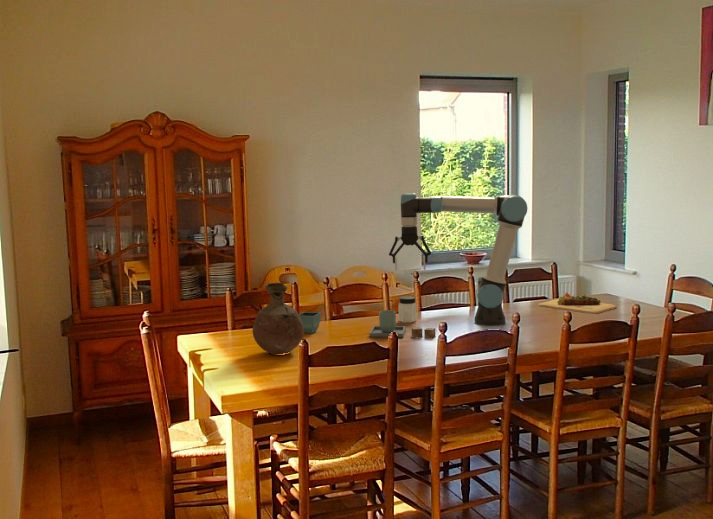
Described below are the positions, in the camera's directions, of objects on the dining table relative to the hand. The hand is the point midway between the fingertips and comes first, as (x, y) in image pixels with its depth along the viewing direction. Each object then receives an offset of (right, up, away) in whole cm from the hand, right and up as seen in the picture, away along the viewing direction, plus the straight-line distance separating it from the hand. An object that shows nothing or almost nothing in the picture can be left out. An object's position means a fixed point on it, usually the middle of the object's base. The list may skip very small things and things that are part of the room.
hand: (410, 269), depth 369 cm
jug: (-59, -35, -41) cm, 80 cm away
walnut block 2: (+8, -31, -18) cm, 36 cm away
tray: (-11, -30, -9) cm, 33 cm away
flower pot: (-49, -30, -2) cm, 57 cm away
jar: (0, -26, +19) cm, 33 cm away
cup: (-11, -29, -9) cm, 33 cm away
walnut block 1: (+2, -31, -16) cm, 35 cm away
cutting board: (+93, -21, +46) cm, 106 cm away
